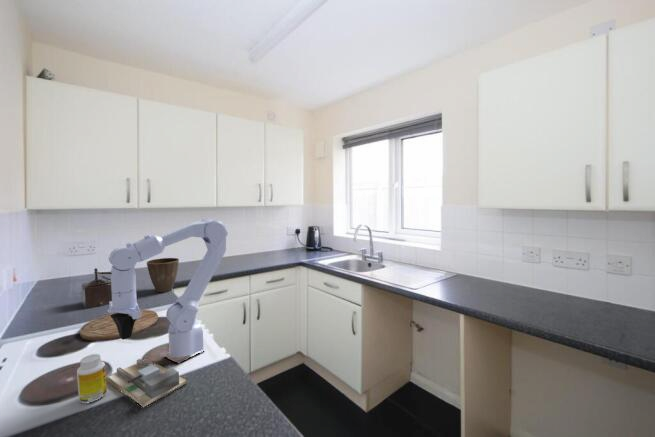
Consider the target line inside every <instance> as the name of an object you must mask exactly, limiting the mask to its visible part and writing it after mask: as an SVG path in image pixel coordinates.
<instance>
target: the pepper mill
mask: <svg viewBox="0 0 655 437" xmlns="http://www.w3.org/2000/svg"><path fill="white" fill-rule="evenodd" d="M93 273H94V275H95V276H94V279H92V280H91V281H90V282H86V283H82V284H81V295H82V305H83V307H84V308H85V309H92V308H97V307H101V306H105V305H109V302H111V301H112V289H111V283H110V282H111V281H110V280H107V279H103V278H102V279H99V278H98V276H99V275H112V273H111V271H108V272H107V271H104V272H101V271H98V268H97V267H95V268H94V272H93ZM98 274H99V275H98Z"/></svg>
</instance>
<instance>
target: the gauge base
mask: <svg viewBox="0 0 655 437" xmlns="http://www.w3.org/2000/svg"><path fill="white" fill-rule="evenodd" d="M144 360H145V359H144ZM144 360H142V359H141V358H139V359H137V360H136V363H134V364H131V365H130V366H127V367H125V368H122V367H118V368H116V372H113V373H111V374H109V375H106V380H107V381H108V382H109V384H110V385H111V386H112V385H113V386H112V387H113V388H115V387H116V388H117V389H116V388H115V389H116V390H118V389H119V390H120V391H122V392H123V393H125V394H126V395H128V396H129V397H131V398H132V399H134V400H135V401H136V402H137V403H139V404H140V405H141V406H142V407H144V406H146V405H148V404H150V403H151V402H153V401H155V400H156V399H157V398H159V397H161V396H163V395H164V394H166V393H168V392H170V391H172V390H174V389H175V388H177V387H179V386H181V385H183V384H185V383H186V382H187V379H185V378H183V377H181V376H180V374H179V373H180V372H179V371H178V370H176V369H174V368H171V369H167V368H165V367H164V366H162V365H160V364H158V363H157V365H156V364H154V365H153V364H152V365H153V366H155V367H157V368H159V370H160V375H158V376H156V377H154V378H152V379H150V380H148V381H146V382H145V383H143V382H142V381H140V380H139V379H136V380H134V381H132V382H130V383H128V381H129V380H131V379H133V378H135V377H137V376H138V370H140V369H143V368H145V367H147V366H149V365H151V364H147V363H146V362H144ZM107 381H106V382H107ZM108 382H107V383H108ZM119 390H118V391H119ZM120 391H119V392H120ZM122 392H121V393H122ZM123 393H122V394H123ZM126 395H125V396H126ZM142 407H141V408H142Z"/></svg>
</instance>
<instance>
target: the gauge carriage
mask: <svg viewBox="0 0 655 437" xmlns="http://www.w3.org/2000/svg"><path fill="white" fill-rule="evenodd" d="M158 375H160V370H159V368H157V367H155V366H153V365H152V364H151V365H149V366H147V367H145V368H143V369H140V370H138V376H137V377H135V378H133V379H131V380H129V381H128V383H130V382H132V381H134V380H136V379H139V380H140V381H142V382H143V383H145V382H146V381H148V380H150V379H152V378H154V377H156V376H158Z"/></svg>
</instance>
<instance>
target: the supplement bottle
mask: <svg viewBox="0 0 655 437" xmlns="http://www.w3.org/2000/svg"><path fill="white" fill-rule="evenodd" d="M106 376H107V374H106V363H105V362H104V361H102V358H101V354H98V353H94V354H93V353H92V354H89V355H87V356H84V357H82V358H81V359H80V366H79V367H78V368H77V370H76V379H77V380H76V381H77V393H78V401H79V402H80V403H81V402H82V403H81V404H88V403H87V402H92V401H95V400H97V401H99V400H100V398H101V397H102V398H103V397H105V395H107V391H108V390H107V381H106ZM102 398H101V399H102ZM98 399H99V400H98ZM95 402H96V401H95ZM92 403H93V402H92Z"/></svg>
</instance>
